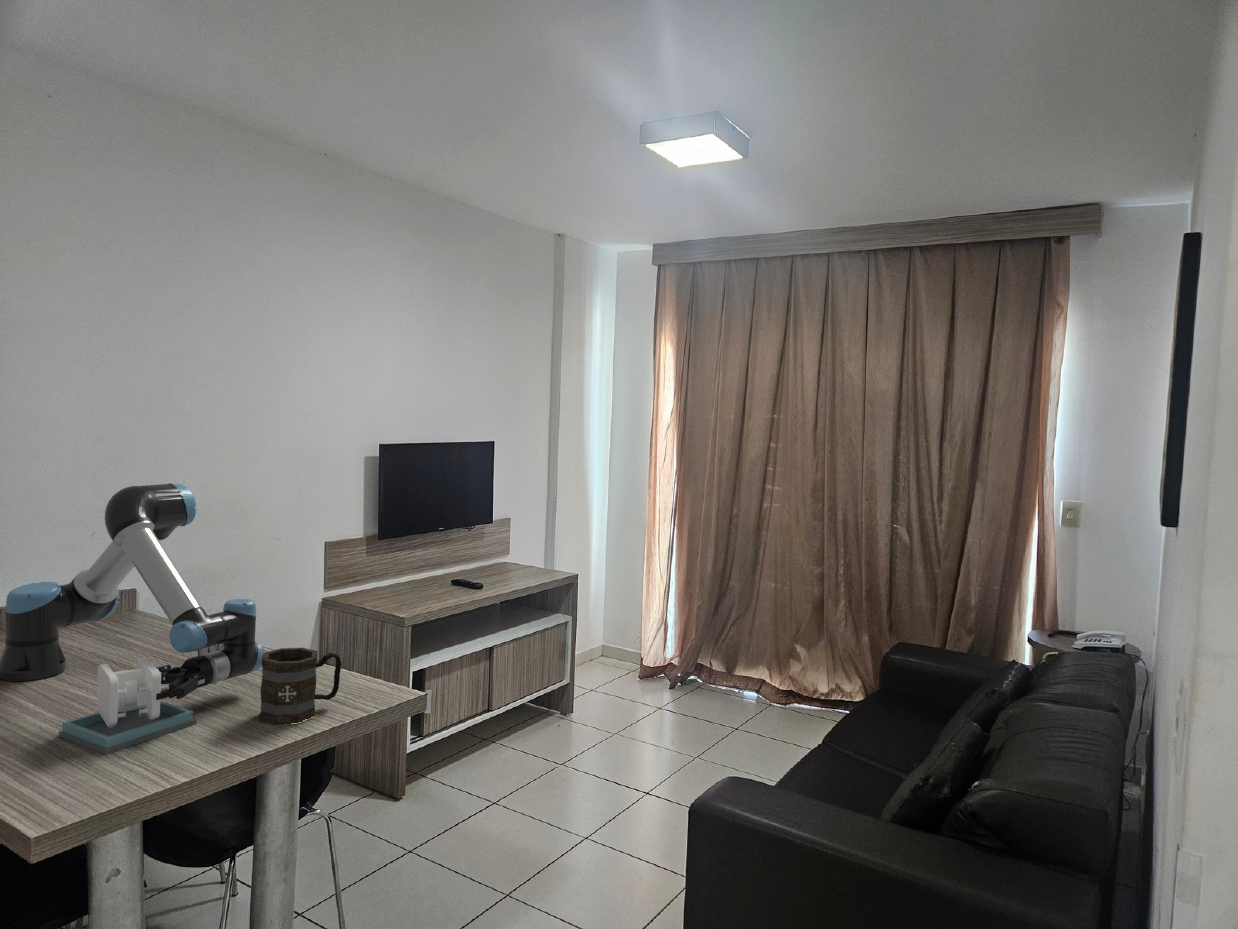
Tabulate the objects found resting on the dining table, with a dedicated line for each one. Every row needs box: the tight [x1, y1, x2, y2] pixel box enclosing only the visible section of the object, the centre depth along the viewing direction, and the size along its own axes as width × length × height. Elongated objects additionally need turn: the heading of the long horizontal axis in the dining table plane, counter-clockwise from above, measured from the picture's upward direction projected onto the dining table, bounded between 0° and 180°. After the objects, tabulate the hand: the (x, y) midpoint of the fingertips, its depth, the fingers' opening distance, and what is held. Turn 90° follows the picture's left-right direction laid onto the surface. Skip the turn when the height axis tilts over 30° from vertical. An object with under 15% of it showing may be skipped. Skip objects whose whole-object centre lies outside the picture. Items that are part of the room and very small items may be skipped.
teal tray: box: [58, 700, 197, 755], centre depth 185 cm, size 17×21×3 cm
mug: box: [258, 647, 342, 726], centre depth 201 cm, size 20×14×15 cm
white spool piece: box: [96, 657, 162, 728], centre depth 184 cm, size 15×11×12 cm
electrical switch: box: [197, 643, 223, 656], centre depth 233 cm, size 9×5×9 cm, turn 141°
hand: (119, 693), depth 182 cm, fingers open, 13 cm apart
